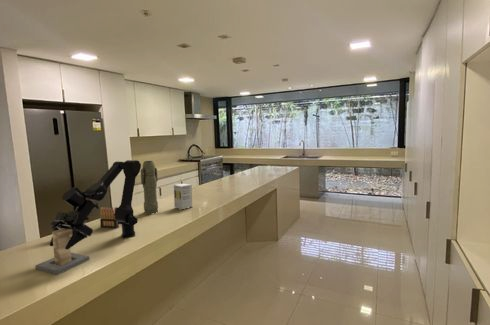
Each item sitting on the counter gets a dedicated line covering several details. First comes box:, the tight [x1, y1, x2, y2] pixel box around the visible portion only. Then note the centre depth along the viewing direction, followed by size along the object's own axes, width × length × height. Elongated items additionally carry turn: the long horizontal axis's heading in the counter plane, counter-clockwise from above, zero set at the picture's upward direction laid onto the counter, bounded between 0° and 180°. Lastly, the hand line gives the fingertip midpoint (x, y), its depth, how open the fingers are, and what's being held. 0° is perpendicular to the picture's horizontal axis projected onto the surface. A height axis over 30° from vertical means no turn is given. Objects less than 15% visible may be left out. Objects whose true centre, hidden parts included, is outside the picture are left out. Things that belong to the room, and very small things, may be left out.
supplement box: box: [173, 183, 193, 210], centre depth 193 cm, size 10×9×17 cm
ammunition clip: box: [99, 206, 120, 229], centre depth 154 cm, size 11×2×12 cm, turn 78°
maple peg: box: [51, 229, 72, 266], centre depth 109 cm, size 4×4×14 cm
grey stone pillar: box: [140, 160, 159, 215], centre depth 182 cm, size 9×12×35 cm
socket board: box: [35, 252, 90, 276], centre depth 109 cm, size 13×13×2 cm
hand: (58, 247), depth 107 cm, fingers open, 9 cm apart
